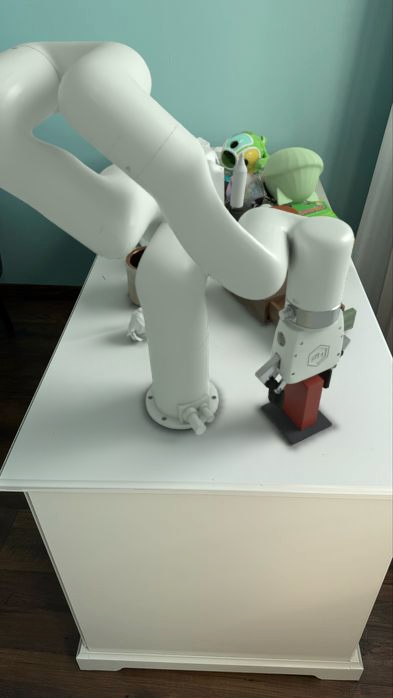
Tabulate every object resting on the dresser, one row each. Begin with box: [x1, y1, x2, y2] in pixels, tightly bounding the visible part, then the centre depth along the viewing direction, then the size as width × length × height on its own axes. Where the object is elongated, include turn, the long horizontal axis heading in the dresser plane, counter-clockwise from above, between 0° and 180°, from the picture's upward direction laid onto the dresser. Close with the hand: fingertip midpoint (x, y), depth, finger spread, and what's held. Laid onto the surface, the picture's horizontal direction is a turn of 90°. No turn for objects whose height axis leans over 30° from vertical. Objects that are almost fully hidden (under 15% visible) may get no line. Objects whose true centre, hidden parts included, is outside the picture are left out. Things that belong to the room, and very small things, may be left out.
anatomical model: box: [225, 172, 265, 210], centre depth 139 cm, size 10×12×10 cm
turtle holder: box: [220, 130, 270, 175], centre depth 154 cm, size 12×18×12 cm
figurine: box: [126, 306, 146, 342], centre depth 103 cm, size 7×15×7 cm, turn 122°
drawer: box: [267, 296, 358, 332], centre depth 102 cm, size 15×13×4 cm
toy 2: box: [254, 203, 299, 215], centre depth 132 cm, size 9×7×15 cm
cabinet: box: [226, 268, 288, 325], centre depth 110 cm, size 15×15×6 cm
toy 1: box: [260, 146, 324, 206], centre depth 139 cm, size 20×19×15 cm
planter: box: [124, 246, 147, 307], centre depth 110 cm, size 11×11×10 cm
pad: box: [260, 401, 333, 445], centre depth 86 cm, size 9×8×1 cm
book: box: [282, 374, 324, 430], centre depth 82 cm, size 6×3×10 cm, turn 29°
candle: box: [224, 153, 249, 222], centre depth 115 cm, size 5×5×25 cm
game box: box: [290, 200, 356, 247], centre depth 132 cm, size 3×10×20 cm
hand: (298, 392), depth 82 cm, fingers open, 8 cm apart
